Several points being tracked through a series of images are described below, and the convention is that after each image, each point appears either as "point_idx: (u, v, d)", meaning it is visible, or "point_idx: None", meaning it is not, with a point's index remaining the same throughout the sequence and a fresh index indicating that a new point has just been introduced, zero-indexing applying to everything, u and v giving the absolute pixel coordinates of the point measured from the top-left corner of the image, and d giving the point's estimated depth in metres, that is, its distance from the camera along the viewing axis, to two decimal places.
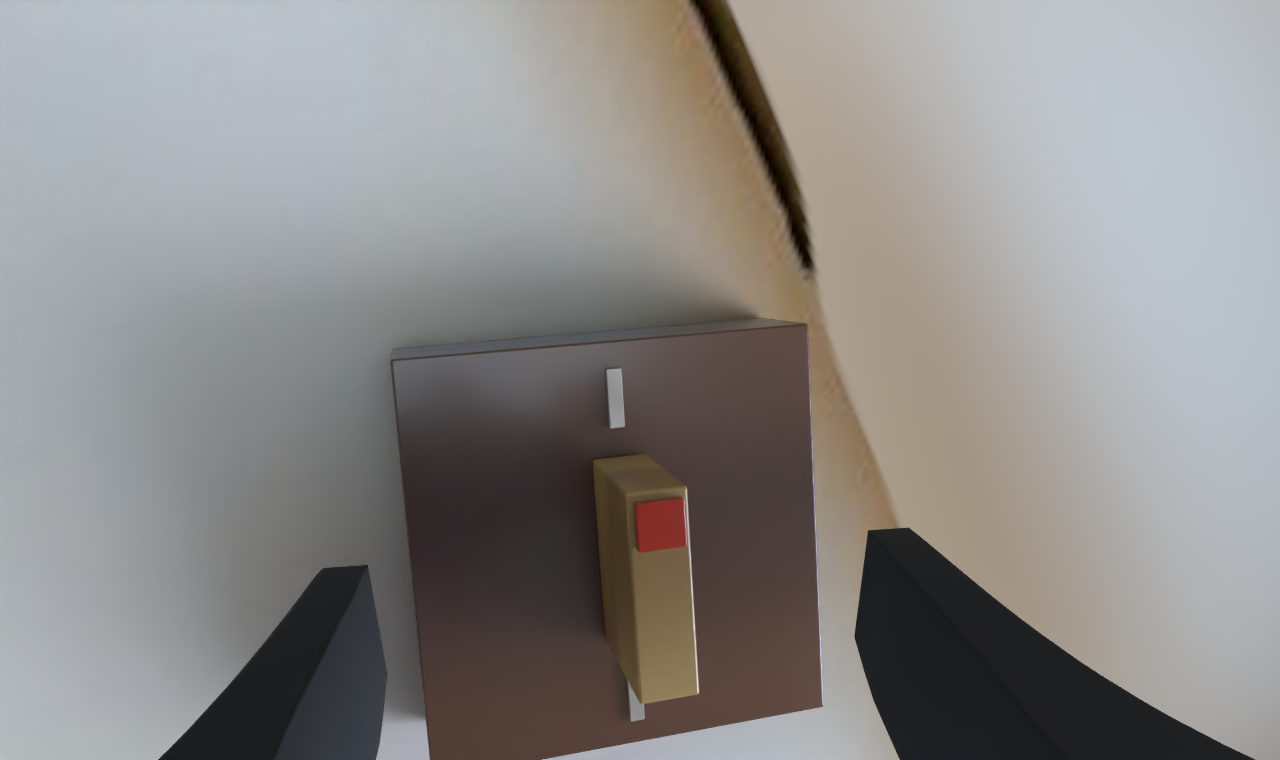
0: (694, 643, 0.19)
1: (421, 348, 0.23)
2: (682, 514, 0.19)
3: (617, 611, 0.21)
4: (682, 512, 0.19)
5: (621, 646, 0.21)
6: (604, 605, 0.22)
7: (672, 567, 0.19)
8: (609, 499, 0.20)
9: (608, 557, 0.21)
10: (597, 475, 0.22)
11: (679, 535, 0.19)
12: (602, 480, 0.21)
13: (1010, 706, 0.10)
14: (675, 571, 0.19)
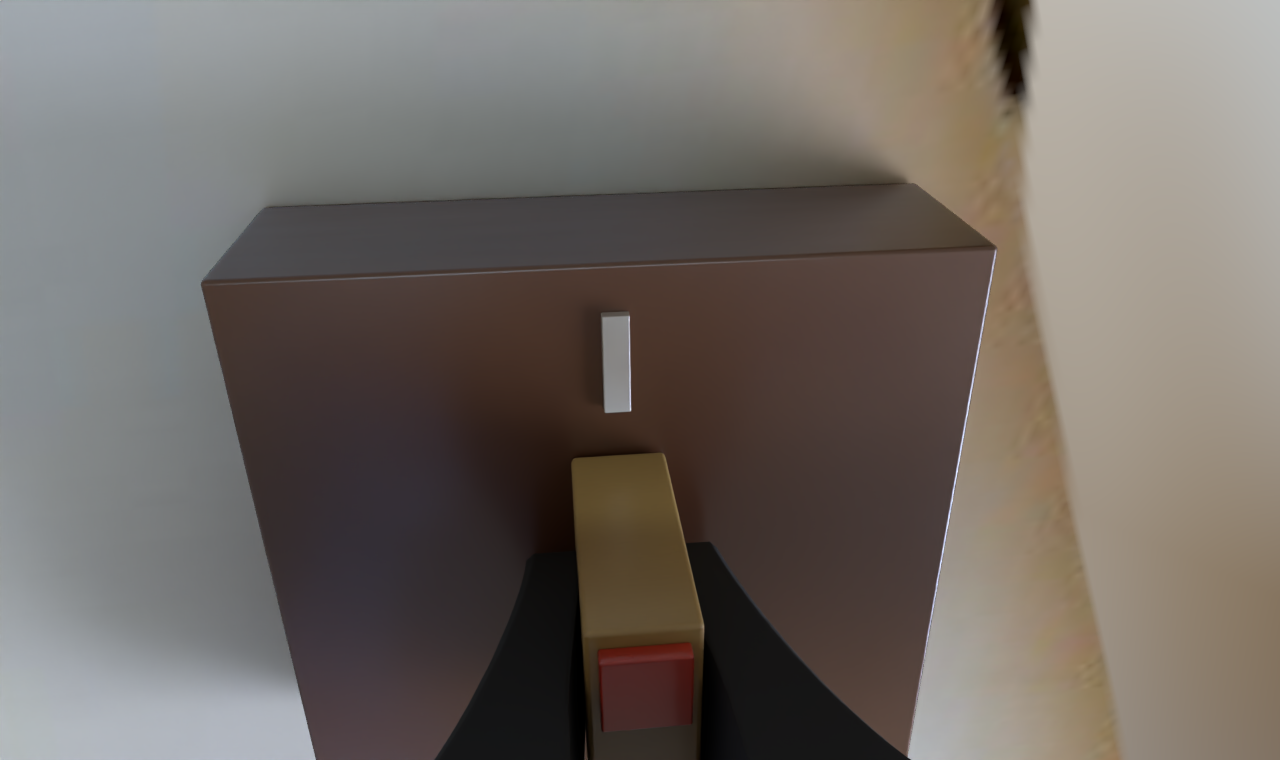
0: None
1: (299, 220, 0.13)
2: (688, 681, 0.10)
3: (585, 722, 0.13)
4: (688, 677, 0.10)
5: None
6: None
7: (665, 740, 0.11)
8: None
9: None
10: None
11: (679, 711, 0.10)
12: None
13: (736, 730, 0.09)
14: (670, 746, 0.11)
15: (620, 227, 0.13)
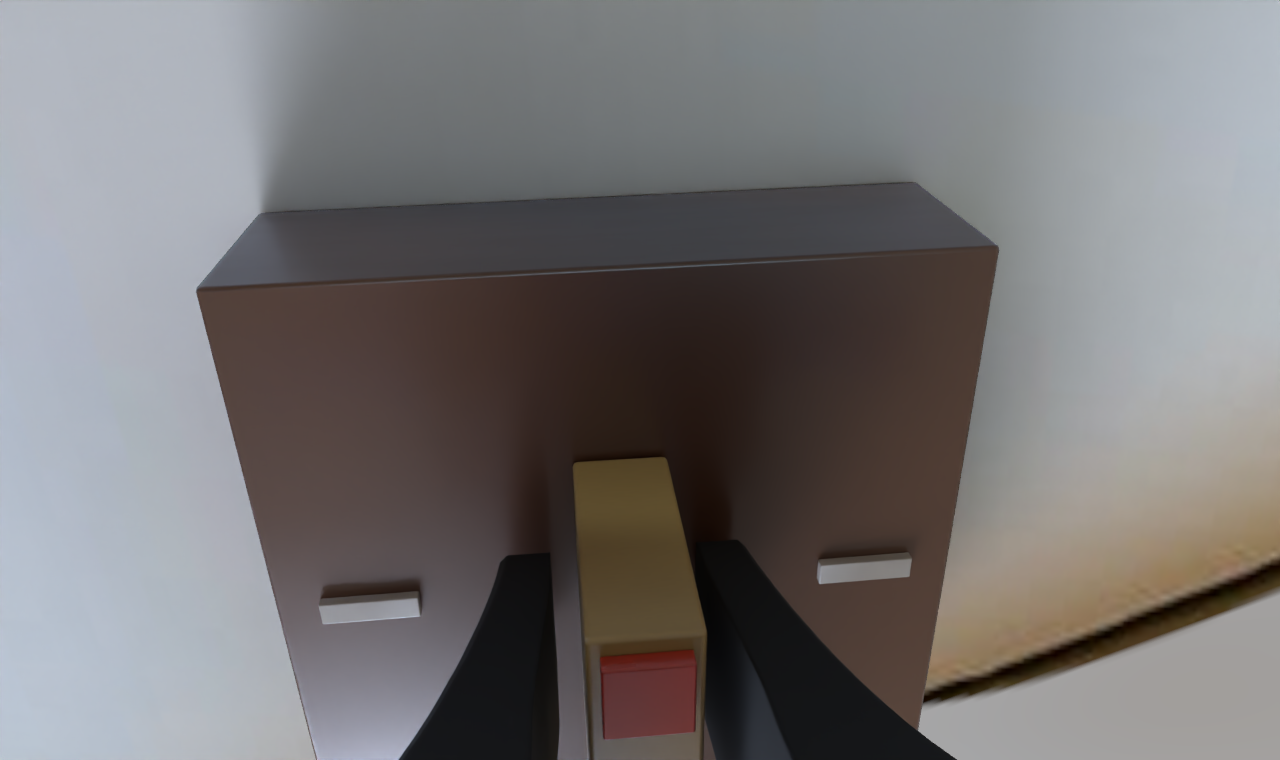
0: None
1: None
2: (690, 688, 0.10)
3: None
4: (691, 685, 0.10)
5: None
6: (582, 665, 0.14)
7: (667, 748, 0.11)
8: (578, 578, 0.11)
9: (581, 635, 0.13)
10: (574, 500, 0.12)
11: (681, 719, 0.10)
12: None
13: (774, 726, 0.10)
14: (672, 754, 0.11)
15: None
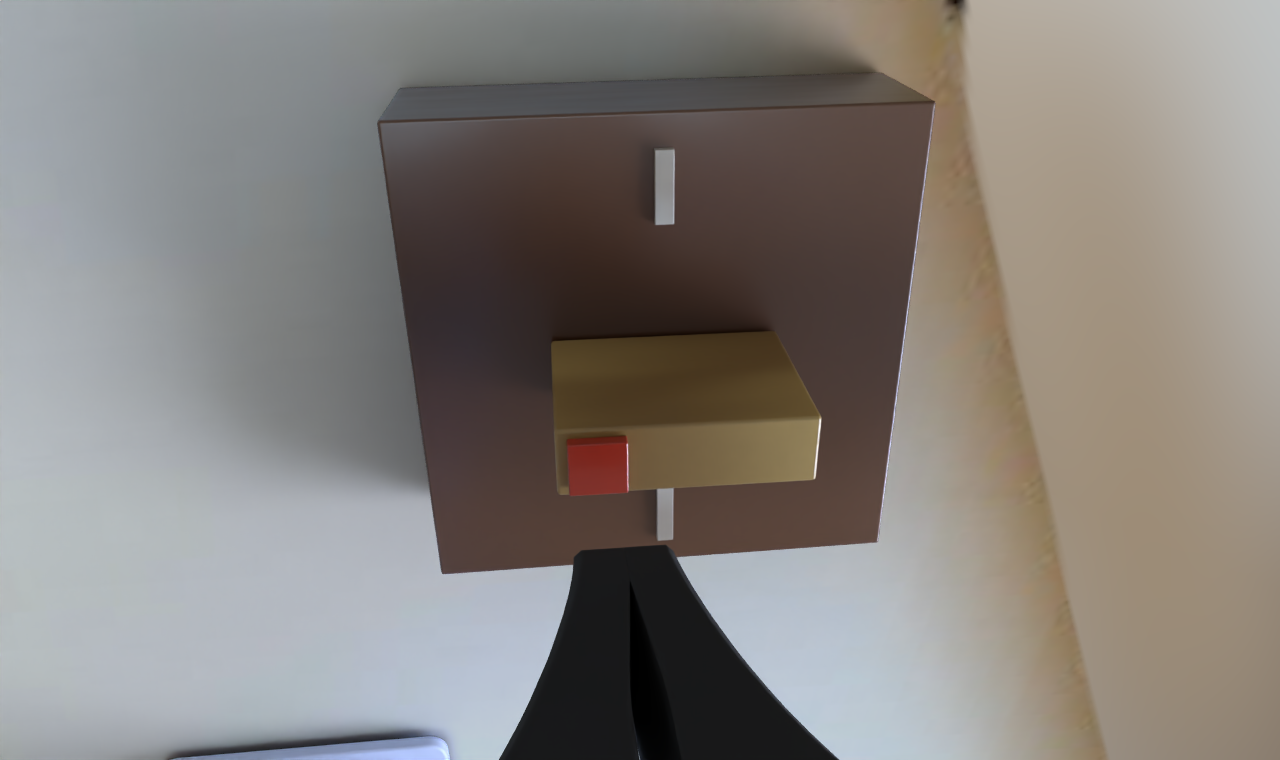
0: (755, 422, 0.16)
1: (430, 93, 0.18)
2: (587, 448, 0.15)
3: None
4: (584, 448, 0.15)
5: None
6: None
7: (654, 447, 0.16)
8: None
9: None
10: None
11: (612, 452, 0.15)
12: None
13: (674, 735, 0.09)
14: (660, 444, 0.16)
15: (665, 94, 0.18)
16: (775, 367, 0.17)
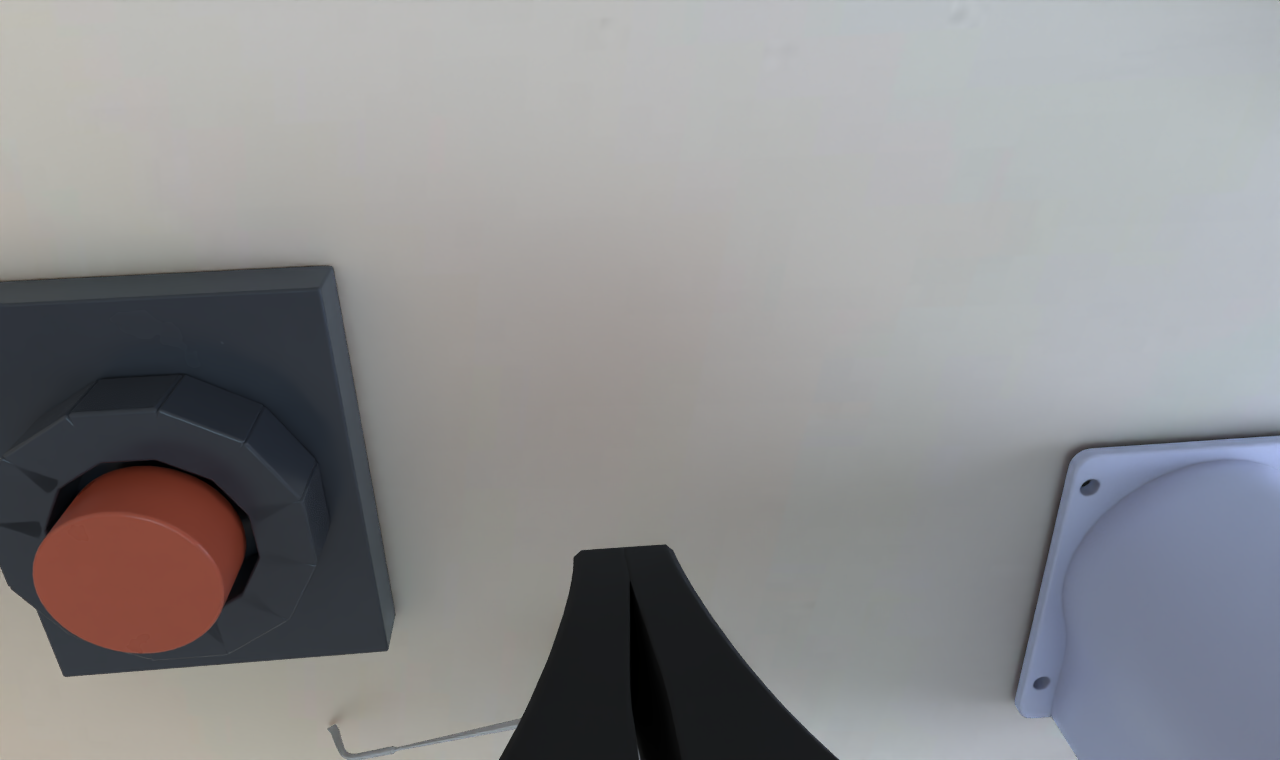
0: None
1: None
2: None
3: None
4: None
5: None
6: None
7: None
8: None
9: None
10: None
11: None
12: None
13: (674, 735, 0.09)
14: None
15: None
16: None
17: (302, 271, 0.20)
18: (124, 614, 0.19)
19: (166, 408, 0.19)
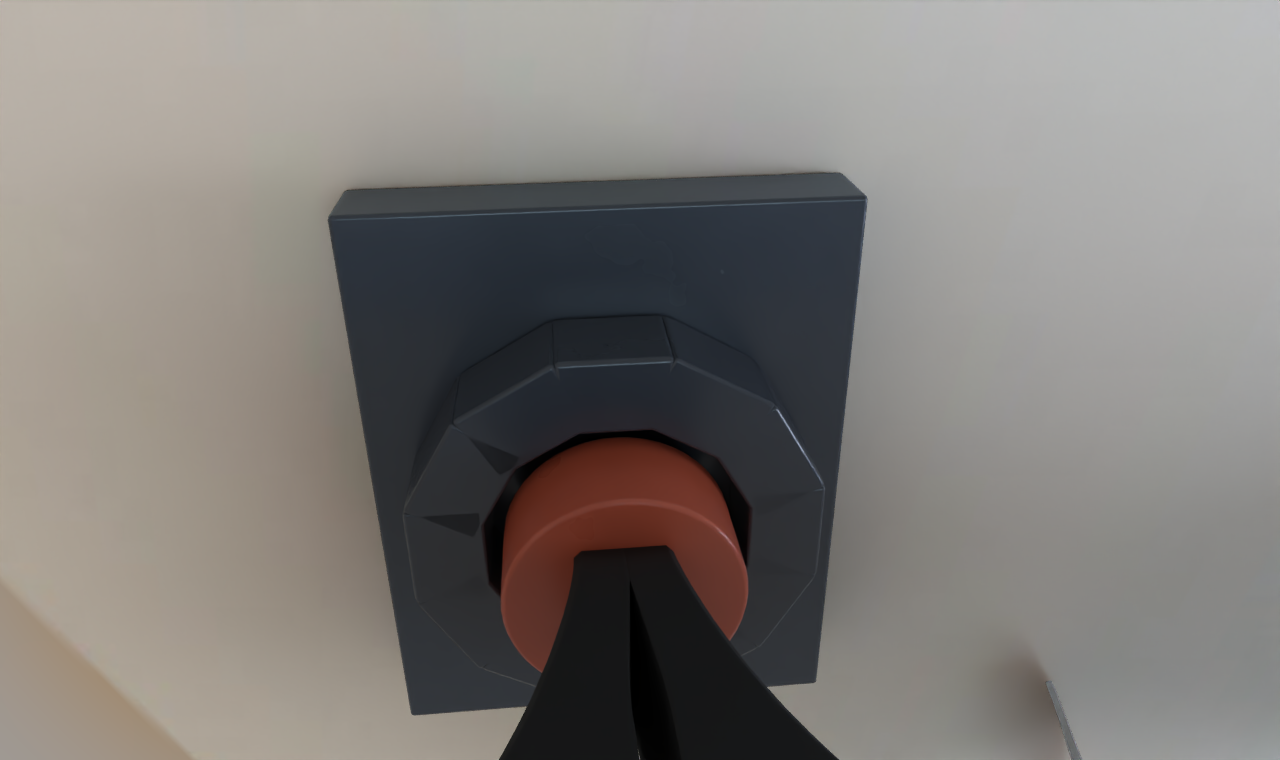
0: None
1: None
2: None
3: None
4: None
5: None
6: None
7: None
8: None
9: None
10: None
11: None
12: None
13: (674, 735, 0.09)
14: None
15: None
16: None
17: (812, 178, 0.15)
18: None
19: (680, 357, 0.14)
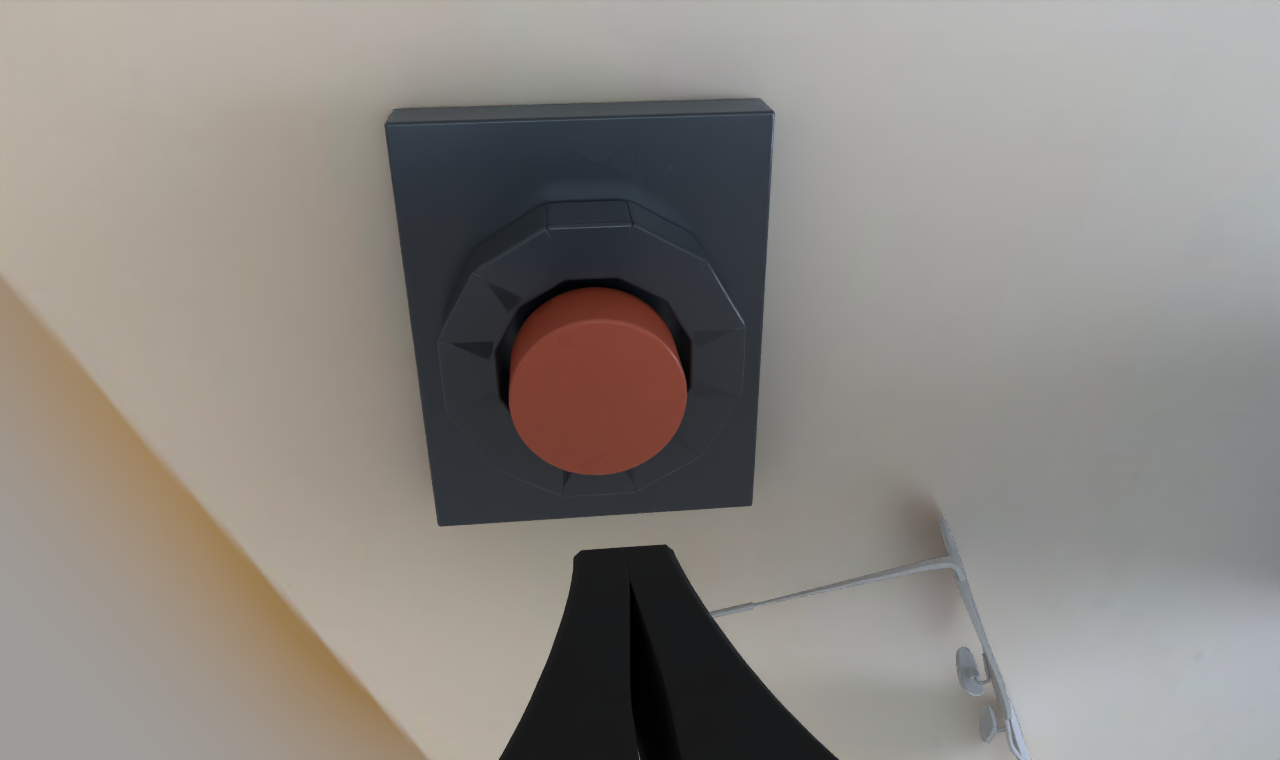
0: None
1: None
2: None
3: None
4: None
5: None
6: None
7: None
8: None
9: None
10: None
11: None
12: None
13: (674, 735, 0.09)
14: None
15: None
16: None
17: (738, 101, 0.20)
18: (587, 431, 0.19)
19: None
